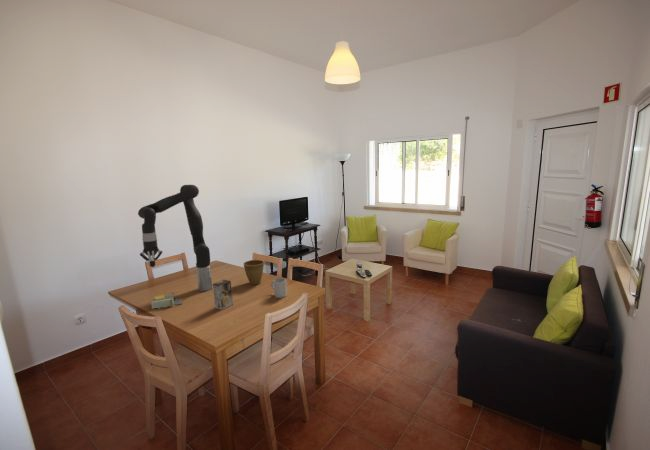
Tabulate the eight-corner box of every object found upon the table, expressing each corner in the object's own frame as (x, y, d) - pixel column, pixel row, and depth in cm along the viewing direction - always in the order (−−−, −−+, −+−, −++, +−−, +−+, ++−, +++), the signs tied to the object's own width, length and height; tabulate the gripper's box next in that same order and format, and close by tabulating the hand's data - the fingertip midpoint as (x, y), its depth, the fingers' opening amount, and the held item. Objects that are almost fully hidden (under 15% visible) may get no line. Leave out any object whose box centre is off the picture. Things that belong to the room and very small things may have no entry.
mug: (289, 294, 215) (288, 279, 213) (281, 298, 208) (280, 283, 206) (276, 290, 222) (275, 275, 220) (267, 294, 215) (267, 279, 213)
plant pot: (269, 281, 240) (268, 261, 236) (255, 288, 227) (253, 266, 224) (255, 278, 247) (253, 258, 244) (240, 284, 235) (239, 263, 232)
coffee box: (226, 302, 205) (224, 279, 201) (233, 304, 201) (231, 280, 198) (214, 308, 197) (212, 283, 194) (221, 310, 194) (219, 285, 190)
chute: (182, 298, 213) (181, 290, 212) (181, 305, 201) (180, 297, 200) (154, 302, 207) (153, 295, 206) (151, 310, 195) (150, 302, 194)
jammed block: (165, 301, 206) (164, 294, 205) (164, 304, 201) (163, 297, 200) (156, 303, 204) (155, 295, 203) (155, 306, 199) (154, 298, 198)
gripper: (162, 237, 200) (165, 263, 203) (138, 239, 195) (141, 266, 198) (161, 240, 193) (164, 267, 196) (136, 242, 188) (139, 269, 191)
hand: (152, 266), depth 197 cm, fingers closed
